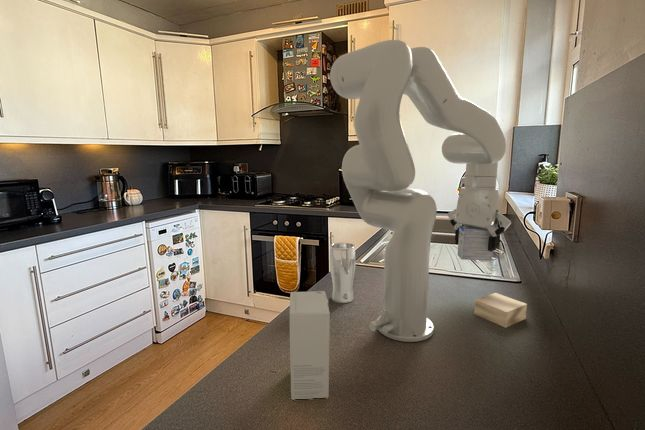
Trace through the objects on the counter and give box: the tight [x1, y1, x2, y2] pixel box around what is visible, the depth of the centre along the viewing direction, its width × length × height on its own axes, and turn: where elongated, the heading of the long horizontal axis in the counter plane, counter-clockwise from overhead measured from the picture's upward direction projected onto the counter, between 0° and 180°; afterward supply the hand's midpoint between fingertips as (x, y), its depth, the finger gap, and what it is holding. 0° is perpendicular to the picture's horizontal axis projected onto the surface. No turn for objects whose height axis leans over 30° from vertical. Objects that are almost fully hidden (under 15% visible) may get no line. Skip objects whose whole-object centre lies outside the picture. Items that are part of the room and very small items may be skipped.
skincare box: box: [289, 290, 331, 400], centre depth 59 cm, size 8×7×16 cm
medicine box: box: [457, 225, 494, 261], centre depth 94 cm, size 8×4×9 cm, turn 84°
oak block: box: [474, 292, 528, 328], centre depth 84 cm, size 8×8×4 cm
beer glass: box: [329, 242, 356, 304], centre depth 94 cm, size 7×7×15 cm
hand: (475, 246), depth 95 cm, fingers closed on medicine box, 8 cm apart
